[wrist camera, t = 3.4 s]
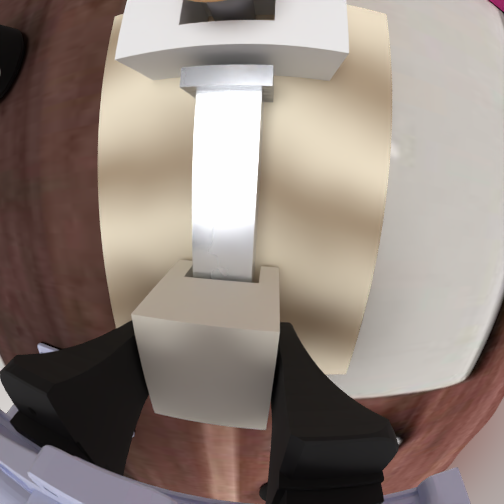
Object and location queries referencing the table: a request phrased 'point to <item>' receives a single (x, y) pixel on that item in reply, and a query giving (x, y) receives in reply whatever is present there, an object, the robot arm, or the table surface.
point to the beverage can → (9, 56)
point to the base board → (270, 188)
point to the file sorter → (499, 4)
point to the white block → (234, 37)
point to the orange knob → (230, 9)
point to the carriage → (210, 346)
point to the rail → (226, 166)
